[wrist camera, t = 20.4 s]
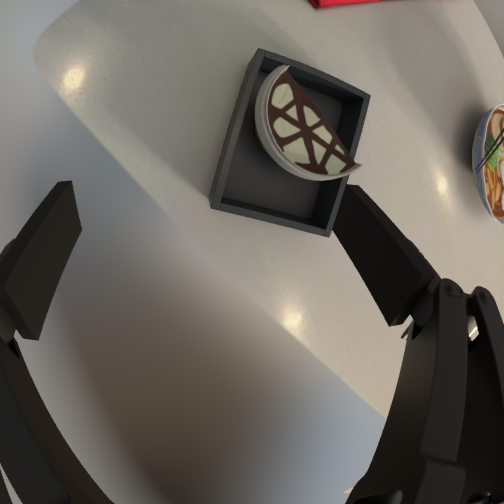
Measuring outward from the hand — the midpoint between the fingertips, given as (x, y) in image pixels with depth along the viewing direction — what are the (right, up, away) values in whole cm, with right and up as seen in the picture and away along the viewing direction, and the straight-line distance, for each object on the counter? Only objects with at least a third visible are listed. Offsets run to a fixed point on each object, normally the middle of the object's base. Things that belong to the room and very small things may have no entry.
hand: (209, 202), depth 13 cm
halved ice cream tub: (+4, +11, +19) cm, 22 cm away
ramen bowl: (+47, +16, +26) cm, 56 cm away
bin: (+6, +11, +20) cm, 23 cm away
